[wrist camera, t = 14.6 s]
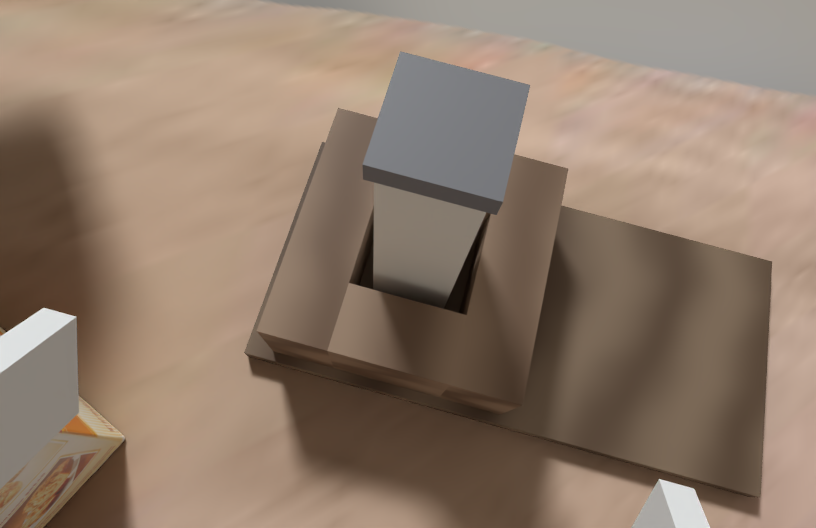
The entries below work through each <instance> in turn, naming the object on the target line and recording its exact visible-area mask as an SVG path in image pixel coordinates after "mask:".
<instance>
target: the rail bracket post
mask: <svg viewBox="0 0 816 528" xmlns="http://www.w3.org/2000/svg"><path fill="white" fill-rule="evenodd" d="M529 88H530V85H528V84H524V83H520V82H516V81H512V80H509V79H505V78H501V77H497V76H493V75H489V74H485V73H482V72H478V71H474V70H470V69H466V68H462V67H458V66H455V65H451V64H447V63H443V62H439V61H435V60H431V59H428V58H424V57H420V56H416V55H412V54H408V53H404V52H401V51H400V54H399V57H398V60H397V63H396V66H395V69H394V72H393V75H392V78H391V81H390V84H389V87H388V90H387V93H386V96H385V99H384V102H383V105H382V108H381V111H380V114H379V117H378V120H377V123H376V126H375V129H374V132H373V135H372V138H371V141H370V144H369V147H368V150H367V153H366V155H365V158H364V161H363V164H362V166H363V180H367V181H371V182H374V247H373V290H377V291H380V292H384V293H388V294H391V295H395V296H399V297H402V298H406V299H409V300H413V301H417V302H420V303H424V304H428V305H431V306H435V307H439V308H442V309H444V307H445V305H446V302H447V300H448V298H449V295H450V293H451V291H452V289H453V286H454V284H455V282H456V280H457V277H458V275H459V273H460V271H461V268H462V266H463V264H464V262H465V259H466V257H467V255H468V253H469V250H470V248H471V246H472V244H473V241H474V239H475V237H476V235H477V232H478V230H479V228H480V226H481V223H482V221H483V219H484V217H485V214H486V213H490V214H494V215H497V213H498V211H499V209H500V207H501V205H502V203H503V200H504V196H505V191H506V187H507V183H508V178H509V174H510V170H511V166H512V161H513V157H514V153H515V148H516V144H517V140H518V135H519V131H520V127H521V123H522V118H523V114H524V110H525V105H526V101H527V97H528V92H529Z"/></svg>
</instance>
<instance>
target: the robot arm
mask: <svg viewBox="0 0 816 528" xmlns="http://www.w3.org/2000/svg"><path fill="white" fill-rule="evenodd" d="M78 413H79V395H78V356H77V317H76V316H72V315H68V314H65V313H61V312H58V311H54V310H50V309H47V308H42V309H41V310H39V311H38V312H36V313H35V314H33V315H32V316H30V317H29V318H27V319H26V320H24V321H23V322H21V323H20V324H18V325H17V326H15V327H14V328H12V329H11V330H9V331H8V332H6V333H5V334H3V335H2V336H0V489H1V488H2V487H3V486H4V485H5V484H6V483H7V482H8V481H9V480H10V479H11V478H12V477H13V476H15V475H16V474H17V473H18V472H19V471H20V470H21V469H22V468H23V467H24V466H25V465H26V464H27V463H28V462H29V461H30V460H31V459H32V458H33V457H34V456H35V455H36V454H37V453H38V452H39V451H40V450H41V449H42V448H43V447H44V446H45V445H46V444H47V443H48V442H49V441H50V440H51V439H52V438H53V437H55V436H56V435H57V434H58V433H59V432H60V431H61V430H62V429H63V428H64V427H65V426H66V425H67V424H68V423H69V422H70V421H71V420H72V419H73V418H74V417H75V416H76V415H77V414H78ZM631 528H710V526H709V524H708V521H707V519H706V516H705V514H704V511H703V509H702V507H701V504H700V502H699V499H698V497H697V494H696V492H695V489H693V488H690V487H686V486H683V485H679V484H676V483H672V482H668V481H665V480H661V479H659V480H658V482H657V483H656V485H655V487H654V489H653V490H652V492H651V494H650V496H649V497H648V499H647V501H646V503H645V504H644V506H643V508H642V510H641V512H640V513H639V515H638V517H637V519H636V520H635V522H634V524H633V526H632V527H631Z"/></svg>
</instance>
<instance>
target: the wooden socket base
mask: <svg viewBox="0 0 816 528" xmlns="http://www.w3.org/2000/svg"><path fill="white" fill-rule="evenodd" d="M377 120H378V118H374V117H370V116H367V115H363V114H359V113H355V112H351V111H348V110H344V109H340V108H338V110H337V113H336V116H335V118H334V121H333V124H332V127H331V129H330V132H329V135H328V138H327V140H326V143H324V142H322V144H321V147H320V149H319V152H318V155H317V158H316V160H315V163H314V166H313V168H312V171H311V174H310V177H309V179H308V182H307V185H306V187H305V190H304V193H303V195H302V198H301V201H300V204H299V206H298V209H297V212H296V214H295V217H294V220H293V223H292V225H291V228H290V231H289V233H288V236H287V239H286V241H285V244H284V247H283V250H282V252H281V255H280V258H279V260H278V263H277V266H276V269H275V271H274V274H273V277H272V279H271V282H270V285H269V287H268V290H267V293H266V296H265V298H264V301H263V304H262V306H261V309H260V312H259V315H258V317H257V320H256V323H255V325H254V328H253V331H252V333H251V336H250V339H249V342H248V344H247V347H246V350H245V352H244V353H245V354H246V355H247V356H249V357H253V358H256V359H260V360H263V361H267V362H271V363H274V364H278V365H281V366H285V367H288V368H292V369H295V370H299V371H303V372H306V373H310V374H313V375H317V376H320V377H324V378H328V379H331V380H335V381H338V382H342V383H345V384H349V385H353V386H356V387H360V388H363V389H367V390H370V391H374V392H378V393H381V394H385V395H388V396H392V397H395V398H399V399H403V400H406V401H410V402H413V403H417V404H420V405H424V406H428V407H431V408H435V409H438V410H442V411H445V412H449V413H453V414H456V415H460V416H463V417H467V418H470V419H474V420H478V421H481V422H485V423H488V424H492V425H495V426H499V427H503V428H506V429H510V430H513V431H517V432H520V433H524V434H527V435H531V436H535V437H538V438H542V439H545V440H549V441H552V442H556V443H560V444H563V445H567V446H570V447H574V448H577V449H581V450H585V451H588V452H592V453H595V454H599V455H602V456H606V457H610V458H613V459H617V460H620V461H624V462H627V463H631V464H635V465H638V466H642V467H645V468H649V469H652V470H656V471H660V472H663V473H667V474H670V475H674V476H677V477H681V478H685V479H688V480H692V481H695V482H699V483H702V484H706V485H710V486H713V487H717V488H720V489H724V490H727V491H731V492H735V493H738V494H742V495H745V496H749V497H760V494H761V474H762V453H763V433H764V413H765V393H766V373H767V352H768V332H769V312H770V292H771V271H772V262H771V261H768V260H764V259H760V258H756V257H753V256H749V255H745V254H741V253H738V252H734V251H730V250H726V249H722V248H719V247H715V246H711V245H707V244H704V243H700V242H696V241H692V240H689V239H685V238H681V237H677V236H674V235H670V234H666V233H662V232H659V231H655V230H651V229H647V228H644V227H640V226H636V225H632V224H629V223H625V222H621V221H617V220H613V219H610V218H606V217H602V216H598V215H595V214H591V213H587V212H583V211H580V210H576V209H572V208H568V207H565V206H561V204H562V199H563V194H564V188H565V183H566V178H567V173H568V169H567V168H564V167H560V166H556V165H552V164H548V163H545V162H541V161H537V160H533V159H530V158H526V157H522V156H518V155H514V157H513V161H512V166H511V170H510V174H509V178H508V183H507V187H506V191H505V196H504V200H503V203H502V205H501V207H500V209H499V211H498V213H497V215H494V214H490V213H486V214H485V217H484V219H483V221H482V223H481V226H480V228H479V230H478V232H477V235H476V237H475V239H474V241H473V244H472V246H471V248H470V250H469V253H468V255H467V257H466V259H465V262H464V264H463V266H462V268H461V271H460V273H459V275H458V277H457V280H456V282H455V284H454V286H453V289H452V291H451V293H450V295H449V298H448V300H447V302H446V305H445V307H444V309H442V308H439V307H435V306H431V305H428V304H424V303H420V302H417V301H413V300H409V299H406V298H402V297H399V296H395V295H391V294H388V293H384V292H380V291H377V290H373V247H374V182H371V181H367V180H363V166H362V164H363V161H364V158H365V155H366V153H367V150H368V147H369V144H370V141H371V138H372V135H373V132H374V129H375V126H376V123H377Z"/></svg>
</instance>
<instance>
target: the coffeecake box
mask: <svg viewBox="0 0 816 528" xmlns="http://www.w3.org/2000/svg"><path fill="white" fill-rule="evenodd" d="M5 333H6V331H4V330H3V329H2V328H1V327H0V336H2V335H3V334H5ZM124 440H125V437H124V436H123V435H122V434H121V433H120V432H119V431H118V430H117V429H116V428H115V427H114V426H112V425H111V424H110V423H109V422H108V421H107V420H106V419H105V418H104V417H103V416H101V415H100V414H99V413H98V412H97V411H96V410H95V409H94V408H93V407H91V406H90V405H89V404H88V403H87V402H86V401H85V400H83V399H82V398H81V397H80V396H79V413H78V414H77V415H76V416H75V417H74V418H73V419H72V420H71V421H70V422H69V423H68V424H67V425H66V426H65V427H64V428H63V429H62V430H61V431H60V432H59V433H58V434H57V435H56V436H55V437H53V438H52V439H51V440H50V441H49V442H48V443H47V444H46V445H45V446H44V447H43V448H42V449H41V450H40V451H39V452H38V453H37V454H36V455H35V456H34V457H33V458H32V459H31V460H30V461H29V462H28V463H27V464H26V465H25V466H24V467H23V468H22V469H21V470H20V471H19V472H18V473H17V474H16V475H15V476H13V477H12V478H11V479H10V480H9V481H8V482H7V483H6V484H5V485H4V486H3V487H2V488H1V489H0V528H43V527H44V526H45V525H46V524H47V523H48V522H49V521H50V520H51V519H52V518H53V517H54V516H55V514H56V513H57V512H58V511H59V510H60V509H61V508H62V507H63V506H64V505H65V504H66V503H67V501H68V500H69V499H70V498H71V497H72V496H73V495H74V494H75V493H76V492H77V491H78V490H79V488H80V487H81V486H82V485H83V484H84V483H85V482H86V481H87V480H88V479H89V478H90V477H91V476H92V475H93V474H94V473H95V472H96V471H97V470H98V469H99V468H100V467H101V465H102V464H103V463H104V462H105V461H106V460H107V459H108V458H109V456H110V455H111V454H112V453H113V452H114V451H115V450H116V449H117V448H118V447H119V446H120V445H121V443H122V442H123V441H124Z"/></svg>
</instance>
